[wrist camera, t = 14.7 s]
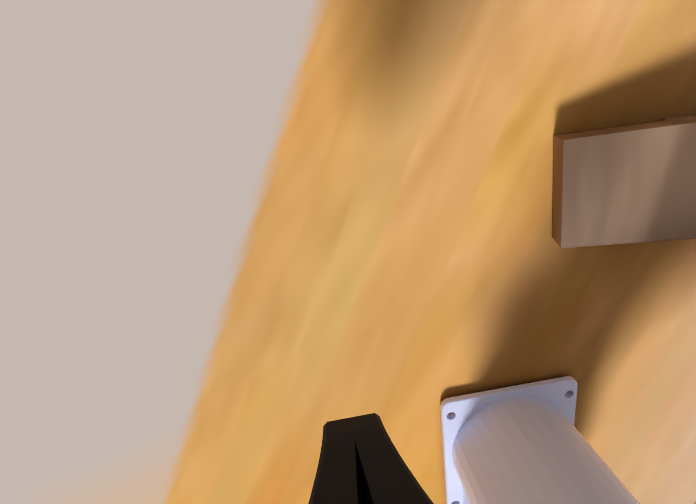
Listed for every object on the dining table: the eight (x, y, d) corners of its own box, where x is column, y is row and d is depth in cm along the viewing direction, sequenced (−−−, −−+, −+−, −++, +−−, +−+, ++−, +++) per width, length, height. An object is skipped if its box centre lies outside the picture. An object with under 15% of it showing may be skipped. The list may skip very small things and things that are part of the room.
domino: (553, 135, 19) (762, 107, 17) (551, 236, 21) (741, 221, 19) (563, 139, 17) (793, 109, 16) (561, 248, 19) (767, 232, 17)
